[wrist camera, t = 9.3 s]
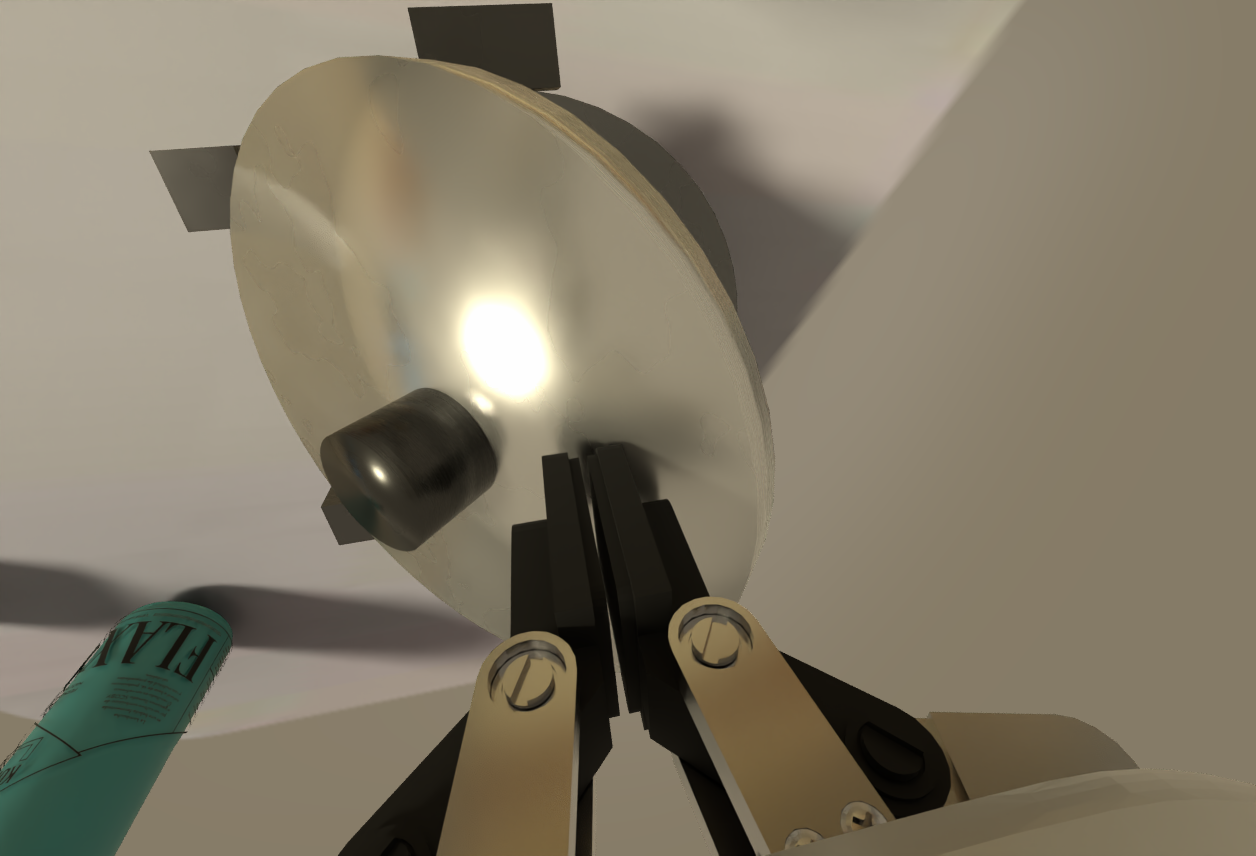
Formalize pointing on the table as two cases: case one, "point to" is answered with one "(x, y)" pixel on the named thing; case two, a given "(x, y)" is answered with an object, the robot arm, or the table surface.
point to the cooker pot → (504, 47)
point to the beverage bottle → (110, 733)
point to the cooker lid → (488, 321)
